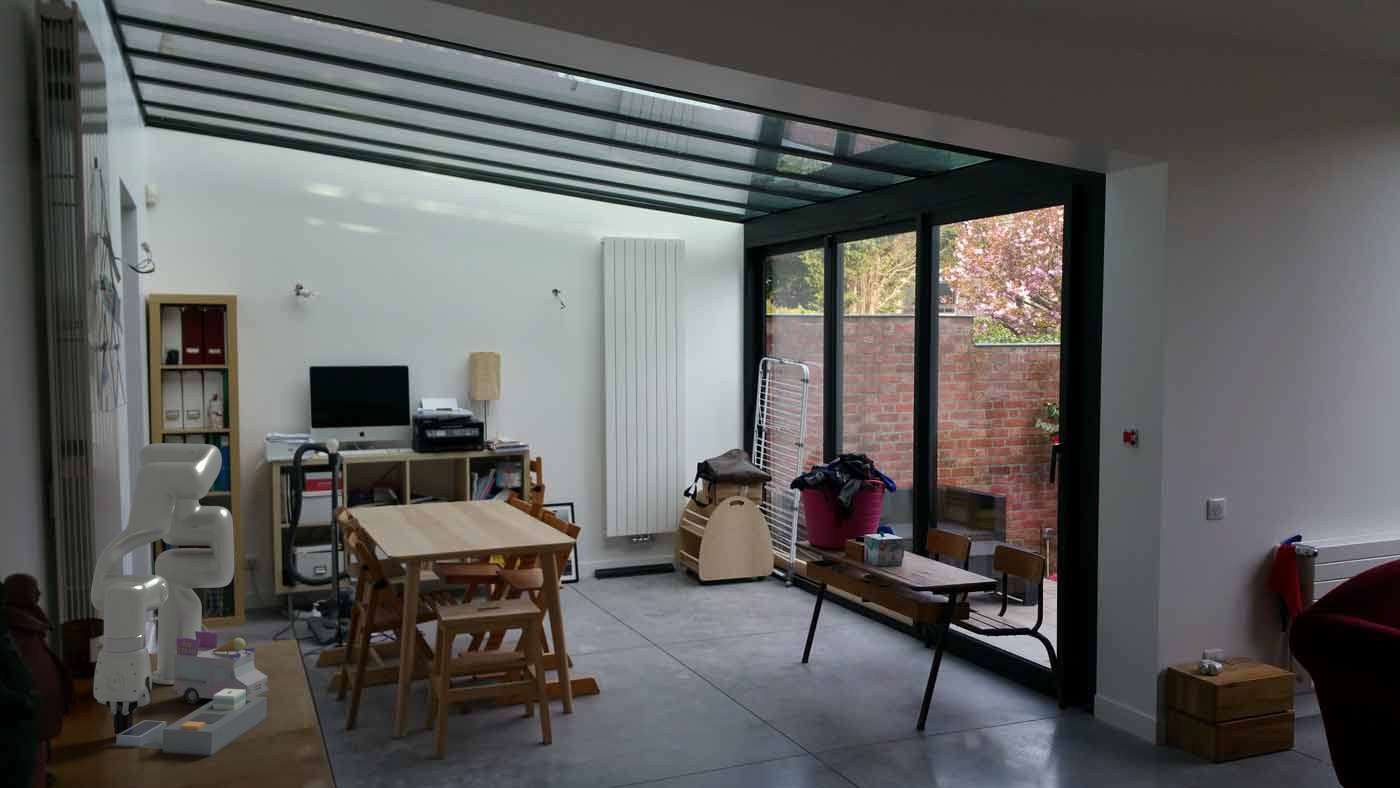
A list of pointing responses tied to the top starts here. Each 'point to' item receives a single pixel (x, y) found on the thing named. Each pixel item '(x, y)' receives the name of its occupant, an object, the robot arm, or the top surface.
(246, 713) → the grey compartment tray
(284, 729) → the top surface
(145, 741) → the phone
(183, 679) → the toy vehicle
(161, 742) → the mat
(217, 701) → the charger
